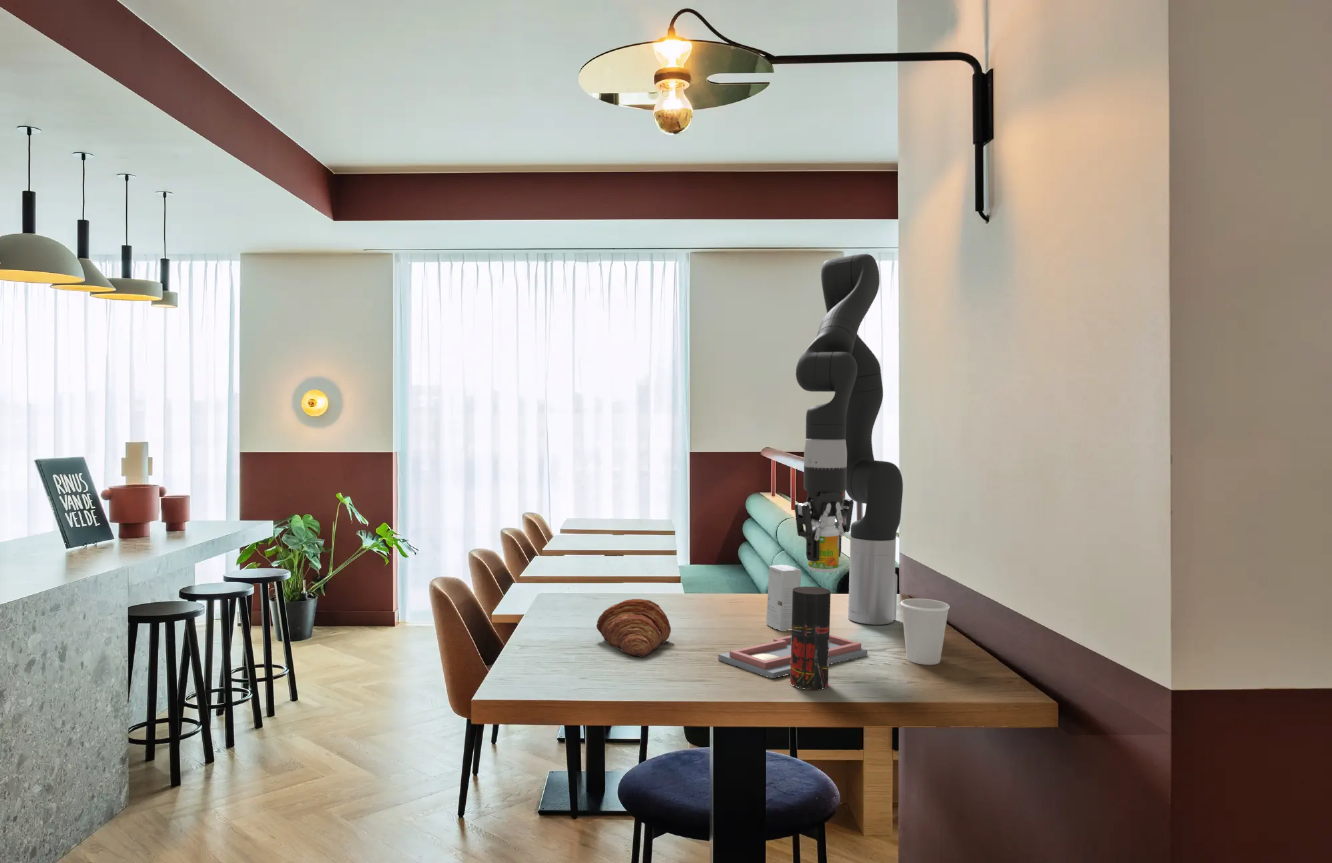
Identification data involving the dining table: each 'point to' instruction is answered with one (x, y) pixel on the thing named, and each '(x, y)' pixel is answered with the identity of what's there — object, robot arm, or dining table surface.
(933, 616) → the dixie cup
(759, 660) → the pink-rimmed grey tray
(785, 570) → the skincare box
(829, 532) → the supplement bottle
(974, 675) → the dining table surface
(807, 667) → the deodorant
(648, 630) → the pastry
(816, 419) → the robot arm
